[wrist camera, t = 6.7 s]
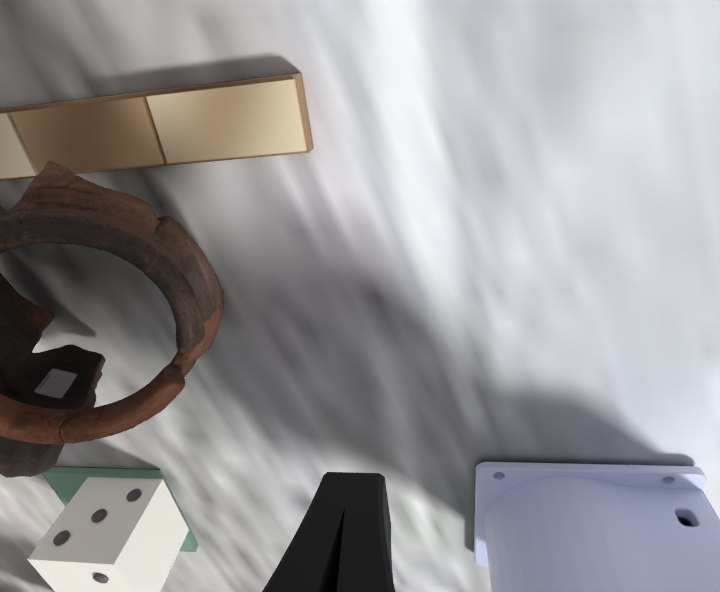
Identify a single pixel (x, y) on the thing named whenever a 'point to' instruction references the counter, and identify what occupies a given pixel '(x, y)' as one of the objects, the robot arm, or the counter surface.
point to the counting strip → (158, 127)
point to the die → (112, 538)
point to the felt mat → (72, 478)
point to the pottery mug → (71, 363)
